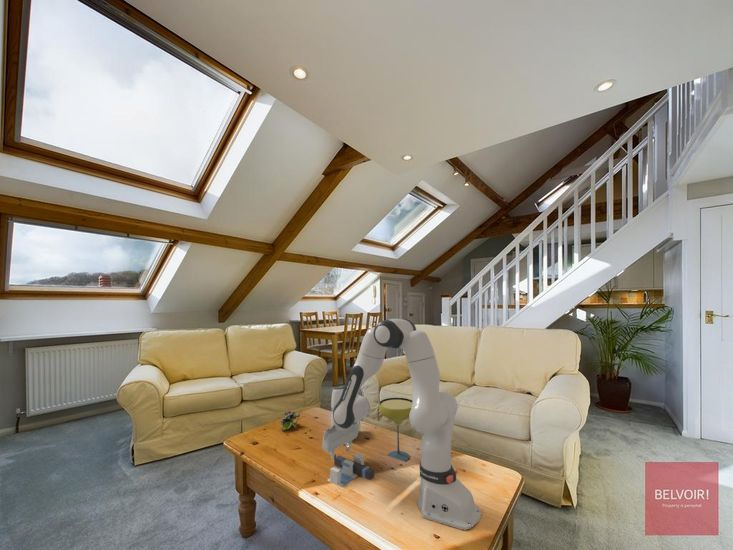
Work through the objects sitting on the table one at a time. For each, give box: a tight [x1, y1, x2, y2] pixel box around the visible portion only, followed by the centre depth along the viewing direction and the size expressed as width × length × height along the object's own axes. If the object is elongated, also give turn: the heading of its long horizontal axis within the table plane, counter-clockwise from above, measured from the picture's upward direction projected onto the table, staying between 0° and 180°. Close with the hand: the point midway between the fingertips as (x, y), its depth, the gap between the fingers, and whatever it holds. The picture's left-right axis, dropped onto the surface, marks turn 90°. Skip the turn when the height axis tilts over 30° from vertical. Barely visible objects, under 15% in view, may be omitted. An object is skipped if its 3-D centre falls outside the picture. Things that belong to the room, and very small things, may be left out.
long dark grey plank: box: [333, 455, 375, 481], centre depth 143 cm, size 20×3×3 cm, turn 52°
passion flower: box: [279, 410, 301, 432], centre depth 193 cm, size 11×11×12 cm
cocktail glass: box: [378, 397, 412, 462], centre depth 158 cm, size 18×18×25 cm
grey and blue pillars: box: [327, 453, 365, 488], centre depth 140 cm, size 8×17×6 cm, turn 142°
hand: (340, 454), depth 148 cm, fingers open, 8 cm apart
